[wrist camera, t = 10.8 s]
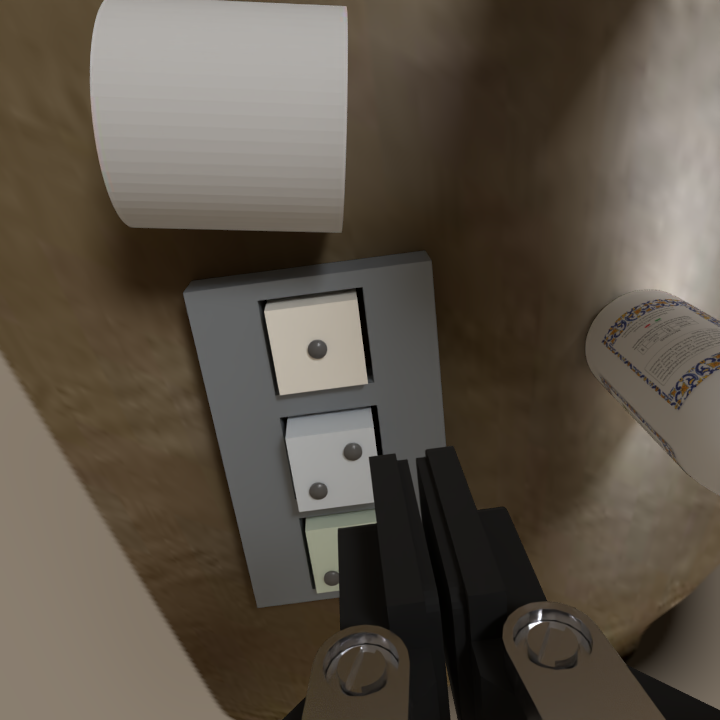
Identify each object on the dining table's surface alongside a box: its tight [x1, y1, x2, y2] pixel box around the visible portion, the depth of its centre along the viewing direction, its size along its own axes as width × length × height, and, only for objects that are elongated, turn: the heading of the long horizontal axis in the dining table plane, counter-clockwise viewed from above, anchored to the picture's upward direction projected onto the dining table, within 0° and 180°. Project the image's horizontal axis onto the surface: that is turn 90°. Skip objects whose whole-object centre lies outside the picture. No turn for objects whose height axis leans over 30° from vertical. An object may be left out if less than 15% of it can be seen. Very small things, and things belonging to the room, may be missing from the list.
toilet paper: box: [90, 0, 348, 233], centre depth 30 cm, size 10×10×10 cm
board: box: [183, 251, 446, 608], centre depth 41 cm, size 14×23×2 cm, turn 7°
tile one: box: [264, 288, 368, 395], centre depth 38 cm, size 5×5×3 cm
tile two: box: [285, 406, 377, 512], centre depth 40 cm, size 5×5×3 cm
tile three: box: [305, 508, 377, 593], centre depth 44 cm, size 5×5×3 cm
